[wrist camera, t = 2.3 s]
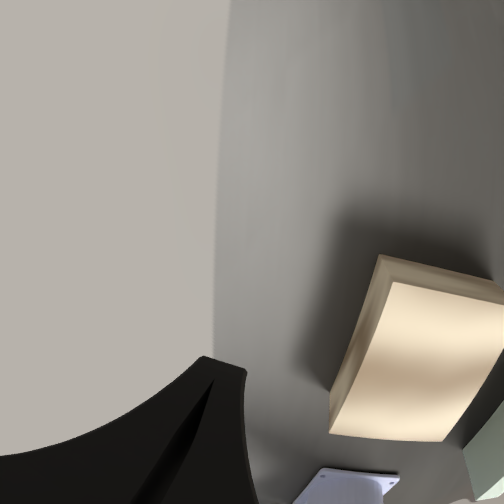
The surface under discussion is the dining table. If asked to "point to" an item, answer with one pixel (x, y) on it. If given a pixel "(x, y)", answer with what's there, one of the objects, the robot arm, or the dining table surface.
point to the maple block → (416, 352)
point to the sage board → (487, 458)
